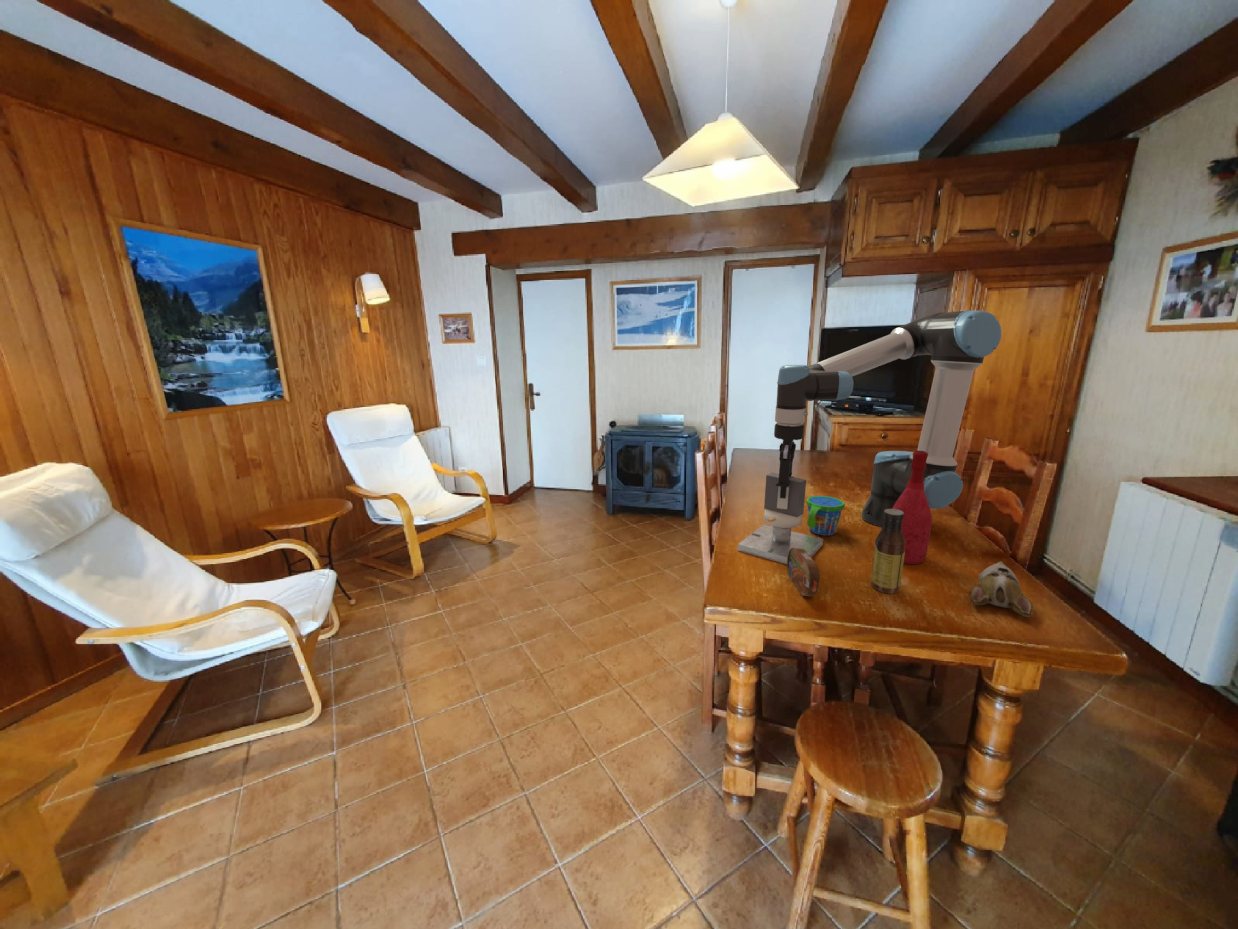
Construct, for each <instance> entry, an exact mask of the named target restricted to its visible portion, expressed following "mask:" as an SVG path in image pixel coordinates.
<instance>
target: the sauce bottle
mask: <svg viewBox="0 0 1238 929" xmlns="http://www.w3.org/2000/svg"><path fill="white" fill-rule="evenodd" d="M883 516H884V522H883V527H881V530H880V531H879V533H878V534H877V537H876V538H875V539H874V549H873V558H872V567H871V577H870V580H871V582H870V583H871V586H872V587H873V588H874V590H877V591H879V592H880V593H885V594H896V593H898V592H899V591H900V586H901V585H902V577H903V572H904V571H903V570H904V564H905V563H904V555H905V538H904V535H903V534H902V532H901V530H902V520H903V518H904V512H903V511H900V510H897V509H885V510H884V513H883Z"/></svg>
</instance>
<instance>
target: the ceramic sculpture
mask: <svg viewBox="0 0 1238 929" xmlns="http://www.w3.org/2000/svg"><path fill="white" fill-rule="evenodd" d="M978 582H979V584H977V585H975V586H973V587H972V588H971V590H970V592H969V597H970V602H972V604H973V605H975V606H983V605H984V606H985V605H987V604H990V605H992V606H996V607H1000V608H1012V609H1011V610H1013V612H1015V613H1016V614H1018V615H1021V616H1022V617H1025V618H1030V617H1031V615H1032V611H1033V610H1032V609H1033V605H1032V603H1031V600H1030V599H1029V598H1028V597H1027V596H1025V595H1024V593H1023V592H1022V586H1021V585H1020V584H1021V583H1020V581H1019V580H1018V578H1017V575H1016V574H1015V573H1014V572H1013V571H1012V569H1011V568H1009V566H1006V564H1004V562H1003V561H998V562H997V563H994V564H991V565H989V566H988V567H986V568H985V569H983V570H982V571H981V572H980V573H979V574H978Z"/></svg>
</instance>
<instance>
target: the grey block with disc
mask: <svg viewBox="0 0 1238 929" xmlns="http://www.w3.org/2000/svg"><path fill="white" fill-rule="evenodd" d="M791 476H792V475H791ZM791 476H789V495H788V507H787V509H780V508H777V499H778V486H776V484H778V482H779V473H776V472H771V473H768V474H766V477H765V488H764V489H765V490H764V505H763V506H764V507H763V509H764V516H763V520H764V522H765V523H766V524H767V525H769V526H772V527H773V526H776V527H781V528H791V529H793V528H798V527H800V526H801V525H802V520H803V515H804V509H805V499H806V485H807V479H805V478H800V477H796V476H793V477H791Z"/></svg>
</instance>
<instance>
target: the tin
mask: <svg viewBox="0 0 1238 929" xmlns="http://www.w3.org/2000/svg"><path fill="white" fill-rule="evenodd" d="M786 565H787V566H786V568H787V574H788V577H789V579H790V581H791V582H792V583H793V585H794V587H795V588H796V590H797V591H798V594H800V595H801V596H802V597H815V596H816V595H817V594H818V592H819V585H820V581H821V578H820V576H821V575H820V569H819V567H818V565H817V563H816V562H815V561H814V560H813V558H812V557H810V556H809V555H808V554H807V552H806V551H805V550H804V549H799V548H791V549H790V551H789V553H788V559H787V564H786Z"/></svg>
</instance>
